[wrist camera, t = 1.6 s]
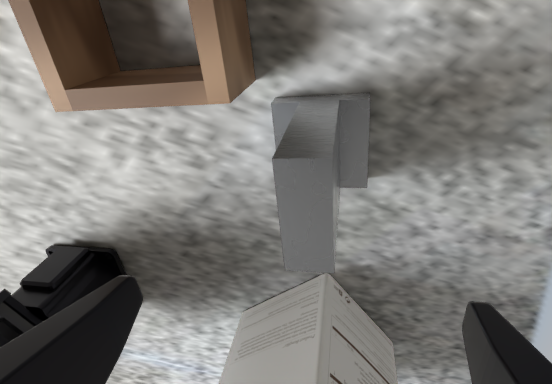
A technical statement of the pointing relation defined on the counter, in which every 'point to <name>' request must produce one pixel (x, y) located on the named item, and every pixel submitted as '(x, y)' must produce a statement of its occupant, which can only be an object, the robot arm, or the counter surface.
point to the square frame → (134, 83)
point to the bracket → (317, 171)
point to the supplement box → (309, 340)
